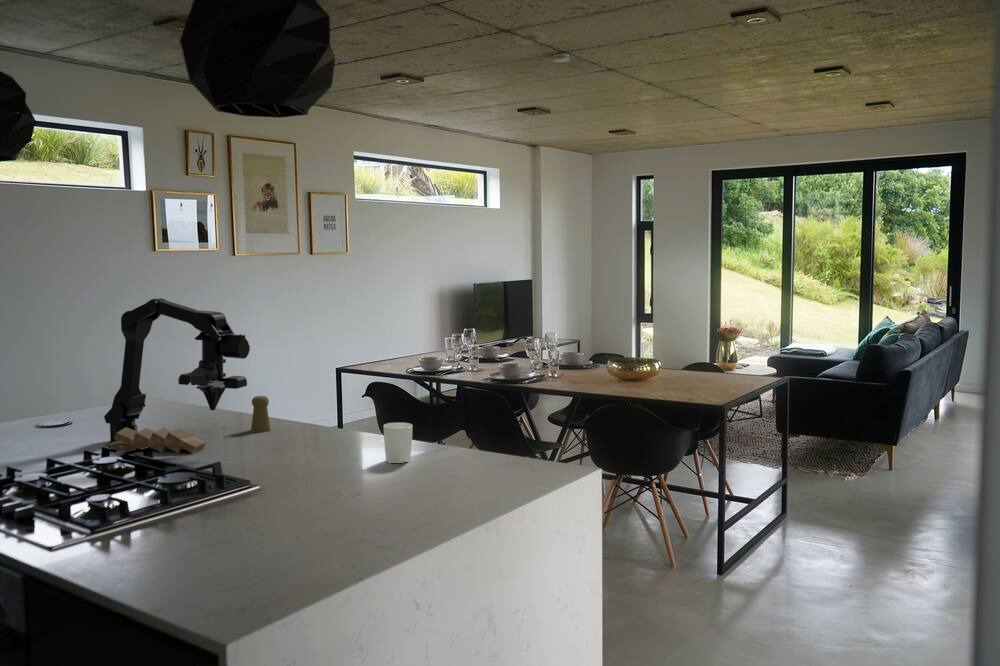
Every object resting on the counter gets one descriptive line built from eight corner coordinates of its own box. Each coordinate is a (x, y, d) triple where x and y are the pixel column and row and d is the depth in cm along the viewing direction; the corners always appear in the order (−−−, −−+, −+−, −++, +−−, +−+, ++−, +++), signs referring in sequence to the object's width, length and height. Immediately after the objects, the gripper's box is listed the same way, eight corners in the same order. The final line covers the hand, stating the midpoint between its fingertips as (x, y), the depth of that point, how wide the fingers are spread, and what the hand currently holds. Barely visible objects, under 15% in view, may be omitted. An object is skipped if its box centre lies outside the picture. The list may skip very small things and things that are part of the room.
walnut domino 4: (177, 453, 225) (150, 438, 226) (188, 448, 231) (161, 433, 232) (180, 446, 225) (152, 432, 226) (191, 442, 231) (164, 427, 232)
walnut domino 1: (134, 453, 227) (106, 451, 229) (147, 448, 233) (119, 446, 235) (134, 446, 227) (106, 444, 229) (147, 441, 233) (119, 439, 235)
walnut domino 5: (192, 453, 225) (165, 438, 225) (203, 448, 231) (176, 434, 231) (195, 447, 224) (167, 432, 225) (205, 442, 230) (179, 428, 231)
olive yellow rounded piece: (267, 432, 252) (266, 398, 251) (248, 432, 252) (247, 397, 251) (273, 428, 258) (272, 394, 257) (254, 428, 258) (253, 394, 257)
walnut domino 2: (144, 451, 227) (114, 439, 226) (153, 444, 232) (123, 433, 232) (146, 444, 226) (116, 432, 226) (155, 438, 232) (125, 427, 231)
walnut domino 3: (161, 452, 226) (133, 439, 226) (172, 446, 232) (144, 433, 232) (164, 446, 226) (135, 432, 226) (174, 440, 231) (146, 427, 232)
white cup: (377, 462, 217) (377, 426, 216) (394, 456, 224) (394, 421, 223) (401, 466, 214) (401, 429, 213) (418, 459, 221) (418, 424, 220)
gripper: (166, 357, 222) (166, 412, 224) (226, 362, 218) (226, 418, 220) (189, 353, 233) (190, 405, 234) (248, 357, 229) (247, 410, 230)
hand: (212, 410), depth 229 cm, fingers closed
